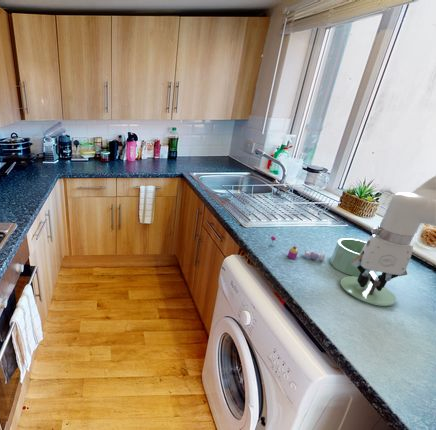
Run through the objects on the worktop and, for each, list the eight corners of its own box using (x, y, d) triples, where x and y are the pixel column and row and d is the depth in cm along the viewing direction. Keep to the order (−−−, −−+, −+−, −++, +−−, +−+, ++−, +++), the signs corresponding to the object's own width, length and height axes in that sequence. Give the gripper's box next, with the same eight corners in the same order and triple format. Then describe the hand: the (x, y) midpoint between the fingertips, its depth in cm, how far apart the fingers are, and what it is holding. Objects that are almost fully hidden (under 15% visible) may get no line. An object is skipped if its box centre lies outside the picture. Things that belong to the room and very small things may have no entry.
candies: (320, 256, 110) (325, 242, 107) (323, 266, 103) (328, 252, 101) (268, 244, 117) (272, 231, 115) (268, 253, 111) (272, 239, 108)
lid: (383, 285, 94) (392, 269, 92) (403, 312, 83) (413, 295, 80) (334, 275, 99) (341, 259, 96) (346, 299, 87) (354, 282, 85)
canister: (366, 262, 107) (375, 242, 103) (379, 281, 96) (390, 260, 92) (326, 254, 111) (334, 235, 107) (335, 272, 100) (343, 251, 97)
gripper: (363, 235, 82) (340, 286, 90) (439, 247, 76) (408, 301, 84) (354, 224, 88) (334, 273, 96) (424, 235, 83) (396, 286, 90)
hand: (369, 285), depth 90 cm, fingers open, 3 cm apart
